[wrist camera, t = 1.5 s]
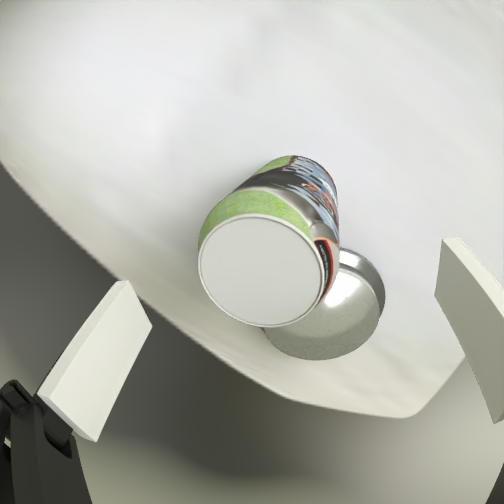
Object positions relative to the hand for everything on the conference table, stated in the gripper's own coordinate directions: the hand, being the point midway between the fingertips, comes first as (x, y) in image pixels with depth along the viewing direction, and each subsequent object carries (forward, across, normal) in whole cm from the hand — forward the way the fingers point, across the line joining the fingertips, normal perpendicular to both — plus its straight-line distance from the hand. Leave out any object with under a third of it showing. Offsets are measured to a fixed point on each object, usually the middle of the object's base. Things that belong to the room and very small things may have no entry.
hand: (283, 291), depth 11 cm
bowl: (+12, +2, -10) cm, 16 cm away
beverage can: (+12, 0, +1) cm, 12 cm away
